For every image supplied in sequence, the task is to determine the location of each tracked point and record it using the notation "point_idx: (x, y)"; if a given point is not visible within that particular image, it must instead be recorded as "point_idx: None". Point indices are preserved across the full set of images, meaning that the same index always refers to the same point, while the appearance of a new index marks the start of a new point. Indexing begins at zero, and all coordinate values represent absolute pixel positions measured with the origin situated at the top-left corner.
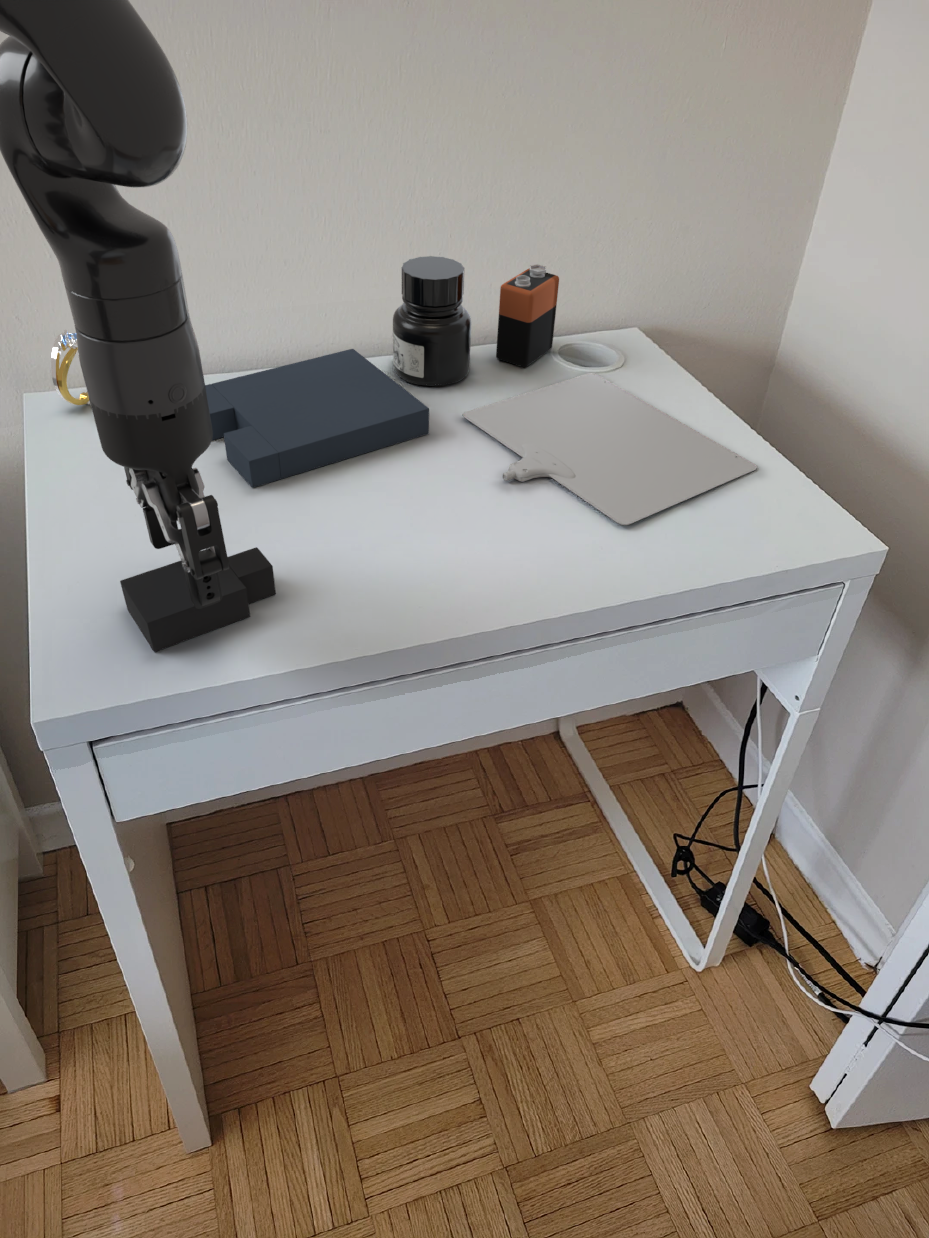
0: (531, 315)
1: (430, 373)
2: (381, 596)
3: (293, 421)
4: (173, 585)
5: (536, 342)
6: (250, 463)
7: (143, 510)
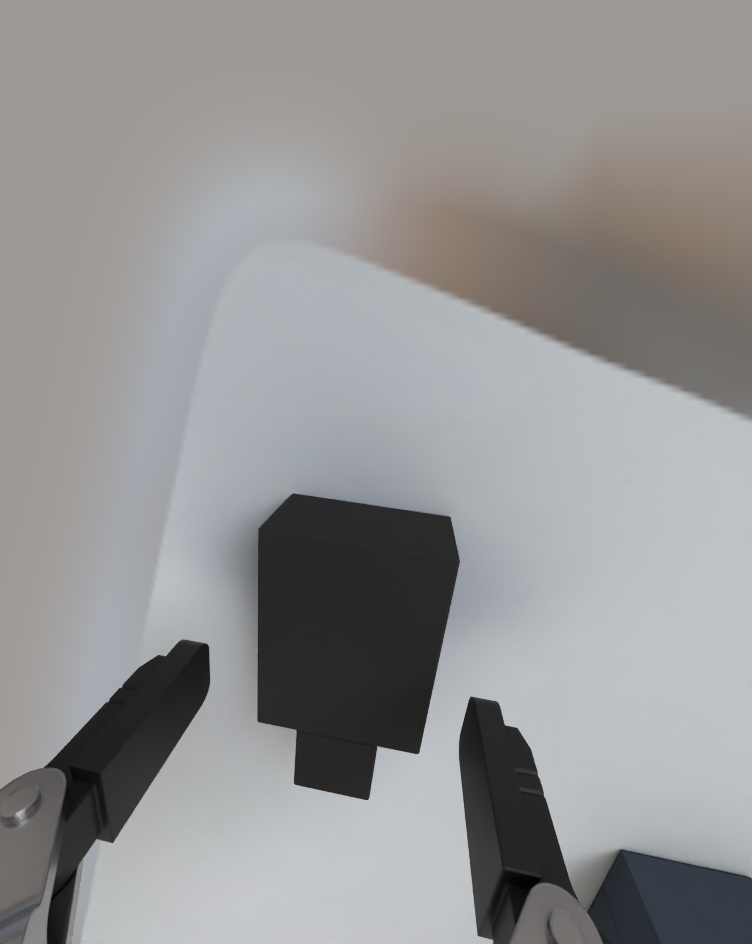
0: None
1: None
2: (223, 791)
3: None
4: (354, 636)
5: None
6: (657, 938)
7: (531, 866)
